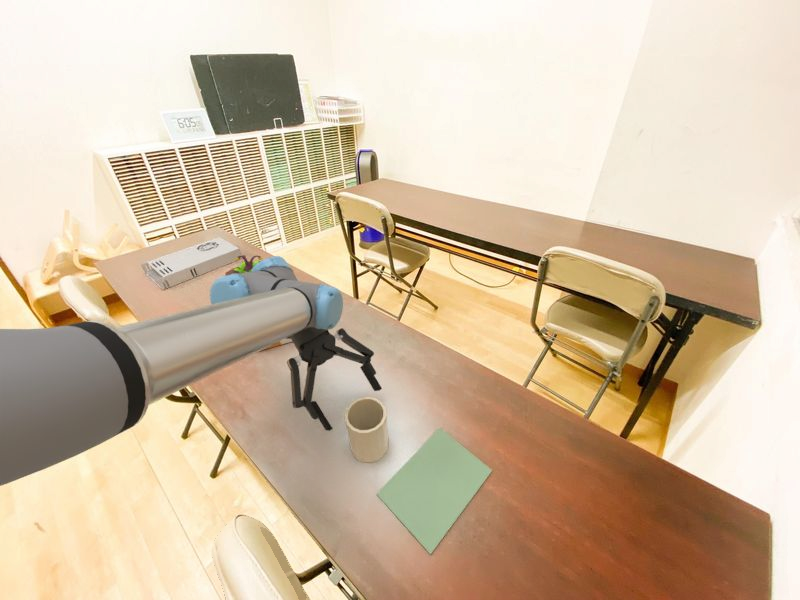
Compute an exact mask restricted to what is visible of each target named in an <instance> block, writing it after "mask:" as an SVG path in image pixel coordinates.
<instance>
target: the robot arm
mask: <svg viewBox="0 0 800 600" xmlns="http://www.w3.org/2000/svg"><path fill="white" fill-rule="evenodd" d="M260 261H261V262H259V263H258V264H256V265H255V266H254V267H253V268H252V270H251V272H248V273H239V274H237V273H233V274H231V275H227V276H225V275H222V276H220V277H218V278H216V279H215V280H214V281H213V282H212V284H211V286H210V289H209V301H210V304H208V305H204V306H200V307H195V308H191V309H187V310H182V311H179V312H174V313H169V314H165V315H161V316H157V317H153V318H148V319H145V320H139V321H136V322H132V323H127V324H122V325H119V326H112V325H111V324H108V323H106V322H103V321H100V320H85V321H80V322H75V323H70V324H66V325H60V326H51V327H45V328H0V487H1V486H5V485H7V484H10V483H12V482H15V481H18V480H20V479H22V478H26V477H27V476H30V475H32V474H36V473H38V472H40V471H43V470H46V469H48V468H50V467H52V466H55V465H58V464H60V463H62V462H64V461H67V460H70V459H72V458H75V457H76V456H78V455H81V454H83V453H85V452H87V451H88V450H91V449H93V448H95V447H97V446H100V445H101V444H102V443H105V442H107V441H109V440H111V439H112V438H113V439H114V437H116V436H118V435H120V434H122V433H124V432H125V431H127V430H130V429H132V428H133V427H135V426H136V425H138V424H139V423H140V422H141V421H142V420H143V419H144V417H145V416H146V414H147V410H148V408H149V407H150V405H151V406H152V404H154V403H157V402H159V401H161V400H163V399H165V398H167V397H169V396H171V395H173V394H175V393H177V392H179V391H182V390H183V389H186V388H187V387H189V386H191V385H194V384H196V383H197V382H199V381H201V380H203V379H206V378H208V377H210V376H212V375H214V374H216V373H218V372H220V371H222V370H224V369H226V368H228V367H230V366H232V365H235V364H237V363H238V362H240V361H243V360H244V359H246V358H249V357H251V356H253V355H254V354H257V353H259V352H261V351H263V349H264V350H266V349H265V348H267V347H269V346H271V345H273V344H275V343H277V342H279V341H281V340H283V339H285V338H287V337H290V338H291V340H292V342H291V343H293V345H294V346H295V348H296V350H297V352H298V355H297V356H295V357H291V358H289V359H287V360H286V365H287V367H288V369H289V371H290V384H291V385H290V387H291V399H292V407H293V408H294V409H300V408H305V409H306V411H307V413H308V414H309V416H310V417H311V419H313V420H317V419H318V420H319V422H320V424H321V426H322V427H323V429H324V430H325V431H327V432H330V431H331V430H333V427H332V425H331V424H330V422H329V420H328V419H327V417H326V415H325V413H324V412H323V410H322V408H321V407H320V406H319V405H320V404H319V403H318V402H317V400H312V399H313V395H314V387H315V381H316V380H315V379H316V373H317V370H318V366H320V367H321V366H322V365H324V364H325V363H326V362H327V361H329V360H332V359H333V358H334V356H336V357H340V358H344V359H346V360H349V361H352V362H356V363H359V364H361V366H360V367H359V368H360V370H361V371H362V373H363V375H364V377H365V378H366V380H367V382H368V383H369V385H370V387H371V388H372V390H373V391H374V392H377V391H378V392H379V391H381V390H383V388H382V386H381V384H380V382H379V381H378V379H377V377H376V376H375V375H376V374H377V371H376V370H375V368H374V366H373V364H372V362H371V361H372V357H373V356H374V355H375V352H374V351H373V350H371V349H370V348H369V347H367V346H366V345H364V344H363V343H361V342H359V341H358V340H357V339H355V338H354V337H352V336H350V335H349V334H348V333H347V331H346V330H345V329H344V328H343V327H341V328H339V329H337V330H336V331H335V333H333V334H332V333H331V332H330V331H329V330H332V329H334V328H336V326H337V325H338V324H339V322H340V320H341V317H342V314H343V311H344V309H343V308H344V298H343V294H342V292H341V291H340V289H338V288H337V287H334V286H330V285H326V284H324V283H313V282H308V281H307V282H306V281H299V280H298V278H297V276H296V275H295V272H294V270H293V269H292V268H291V266H290V265H289V264H288V262H287V261H286V260H285V258H284V257H282V256H279V255H274V256H270V257H267V258H265V259H262V260H260ZM336 341H341V342H342V343H344V344H345V345H347V346H348V347H349V348H351V349H353V350H354V351H356V352H357V353H356V352H353V351H349V350H347V349H345V348H343V347H340V346H337V345H336ZM358 353H359V354H358ZM301 361H302V362H304V363H307V365H306V366H307V367H306V377H305V381H304V382H305V383H304V390H303V395H302V388H301V375H300V374H301V373H300V368H299V367H300V366H301Z"/></svg>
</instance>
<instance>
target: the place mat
mask: <svg viewBox="0 0 800 600" xmlns="http://www.w3.org/2000/svg"><path fill="white" fill-rule="evenodd" d="M492 472H493V469H492V468H490V467H489V466H488V465H487V464H486V463H484V462H483V461H482V460H480V459H479V457H477V456H475V454H473V453H472V452H470V451H469V450H468V449H467V448H465V447H464V446H463V445H462V444H460V443H459V442H458V441H457V440H455V439H454V438H453V437H452V436H451V435H449V434H448V433H447V432H446V431H444V430H443V429H442V428H441V427H440V428H438V429H437V430H436V431H435V432H434V434H433V435H432V436H430V438H429V439H428V440H427V441H426V442H425V443H424V444H423V445H422V446H421V447H420V448H419V449H418V450H417V451H416V452H415V453H414V454H413V455H412V456H411V457H410V458H409V459H408V460H407V462H406V463H405V464H404V465H402V467H401V468H400V469H399V470H398V471H396V473H395V474H394V475H393V476H392V477H391V479H390V480H388V481H387V482H386V484H384V486H383V487H382V488H381V489H379V490H378V492H376V496H377V497H378V498H379V499H380V500H381V501H382V503H383V504H384V505H385V506H386V507H387V508H388V509H389V510H390V511H391V513H392V514H393V515H394V516H395V517H396V518H397V519H398V521H400V523H401V524H402V525H403V526H404V527H405V528H406V529H407V531H408V532H409V533H410V534H411V535H412V536H413V538H414V539H415V540H416V541H417V542H418V543H419V544H420V545H421V546H422V548H423V549H424V550H425V551H426V552H427V553H428V554H429V555H430V556H431V555H432V554H433V552H434V551H435V550H436V549H437V547H438V546H439V544H440V543H441V541H442V540H443V539H444V538H445V536H446V535H447V533H448V532H449V531H450V529H451V528H452V527H453V525H454V524H455V522H457V520H458V519H459V517H460V516H461V515H462V513H463V512H464V510H465V509H466V507H467V506H468V505H469V504H470V502H471V501H472V499H473V498H474V497H475V495H476V494H477V493H478V491H479V490H480V488H481V487H482V486H483V485H484V483H485V482H486V480H487V479H488V478H489V476H490V475H491V474H492Z"/></svg>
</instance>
